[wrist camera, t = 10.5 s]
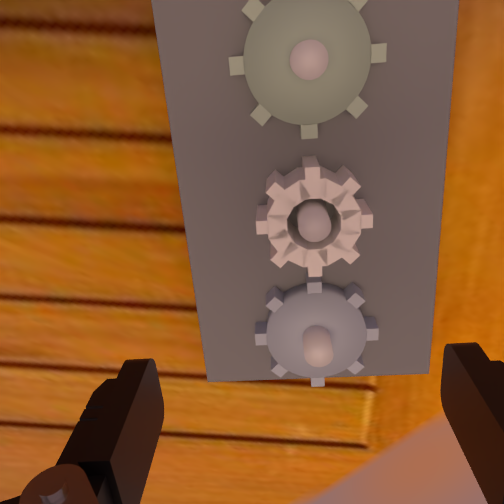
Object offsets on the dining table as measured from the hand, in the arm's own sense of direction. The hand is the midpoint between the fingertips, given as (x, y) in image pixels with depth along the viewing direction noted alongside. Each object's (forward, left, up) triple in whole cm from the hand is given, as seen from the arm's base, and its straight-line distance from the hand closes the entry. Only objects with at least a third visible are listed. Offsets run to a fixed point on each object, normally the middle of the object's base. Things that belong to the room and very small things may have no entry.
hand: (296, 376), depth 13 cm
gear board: (+1, +2, -19) cm, 19 cm away
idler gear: (+1, +2, -17) cm, 17 cm away
